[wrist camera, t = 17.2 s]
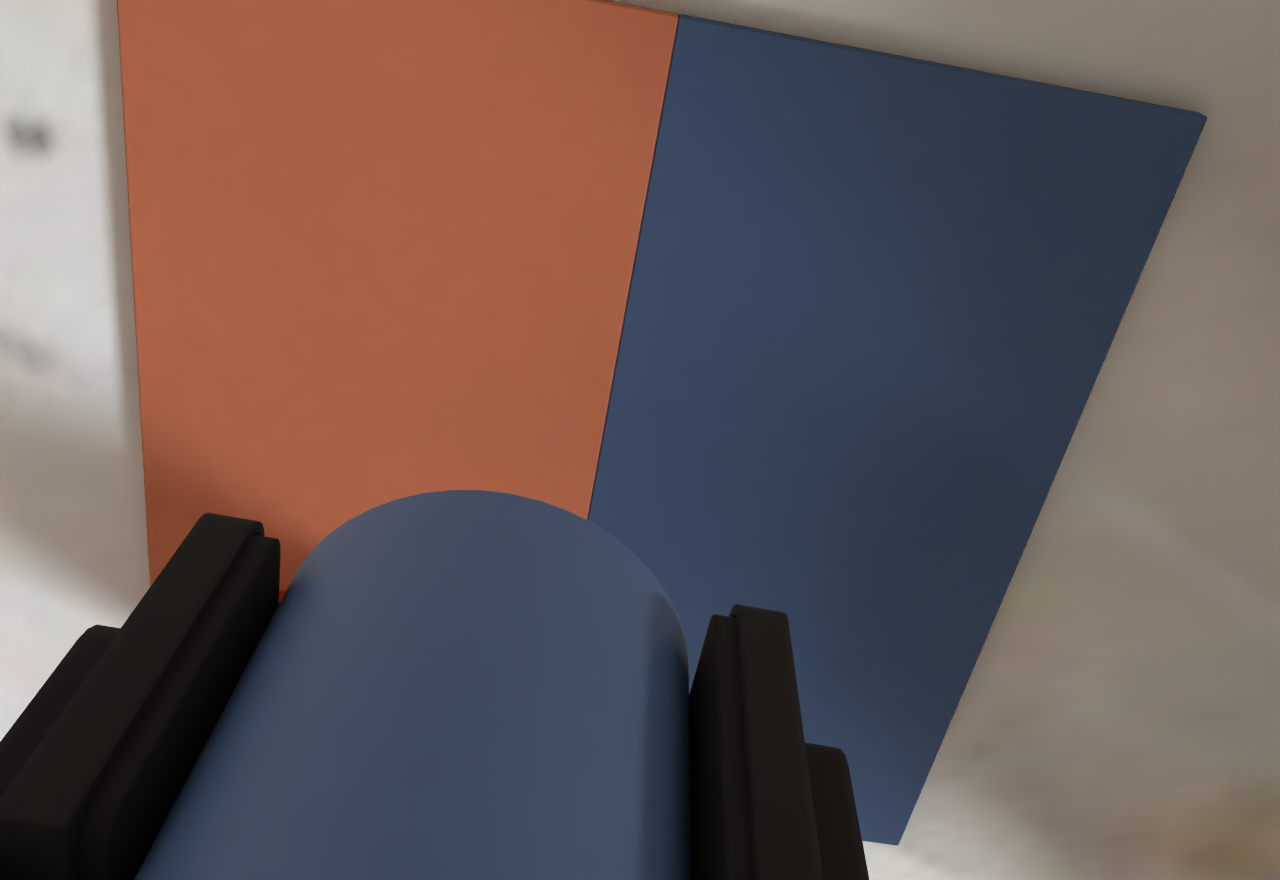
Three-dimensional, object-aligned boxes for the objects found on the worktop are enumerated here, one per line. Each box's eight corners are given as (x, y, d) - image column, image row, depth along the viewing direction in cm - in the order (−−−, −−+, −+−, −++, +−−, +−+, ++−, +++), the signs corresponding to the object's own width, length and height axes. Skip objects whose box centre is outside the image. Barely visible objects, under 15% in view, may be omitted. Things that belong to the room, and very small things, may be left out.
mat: (163, 733, 33) (158, 743, 33) (119, -94, 22) (110, -92, 22) (896, 836, 35) (898, 846, 34) (1200, 112, 24) (1208, 117, 23)
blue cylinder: (275, 773, 13) (60, 1265, 8) (286, 451, 11) (7, 880, 6) (646, 833, 13) (628, 1339, 9) (729, 529, 11) (763, 996, 6)
